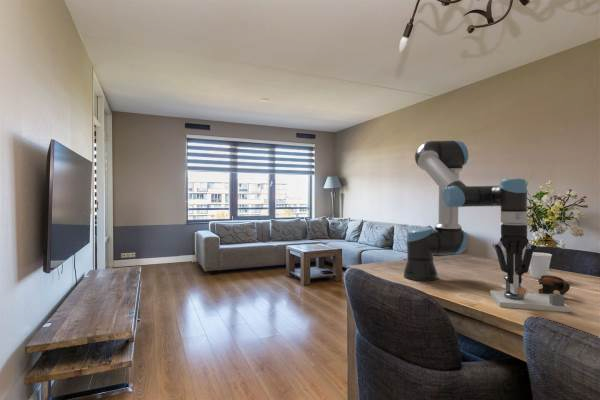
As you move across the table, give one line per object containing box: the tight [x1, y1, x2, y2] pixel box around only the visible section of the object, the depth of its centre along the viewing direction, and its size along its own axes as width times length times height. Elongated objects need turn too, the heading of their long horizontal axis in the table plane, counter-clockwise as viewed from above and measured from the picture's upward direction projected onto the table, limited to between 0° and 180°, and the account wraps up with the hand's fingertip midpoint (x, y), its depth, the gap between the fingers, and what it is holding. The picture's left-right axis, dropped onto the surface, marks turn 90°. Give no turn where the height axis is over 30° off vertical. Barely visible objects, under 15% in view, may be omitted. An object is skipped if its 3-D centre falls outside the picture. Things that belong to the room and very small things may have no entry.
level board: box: [489, 290, 571, 313], centre depth 117 cm, size 20×15×6 cm
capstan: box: [503, 275, 527, 299], centre depth 115 cm, size 14×6×7 cm, turn 161°
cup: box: [528, 251, 553, 280], centre depth 152 cm, size 10×10×11 cm
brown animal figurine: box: [537, 274, 571, 296], centre depth 126 cm, size 12×10×8 cm
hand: (514, 293), depth 112 cm, fingers closed
